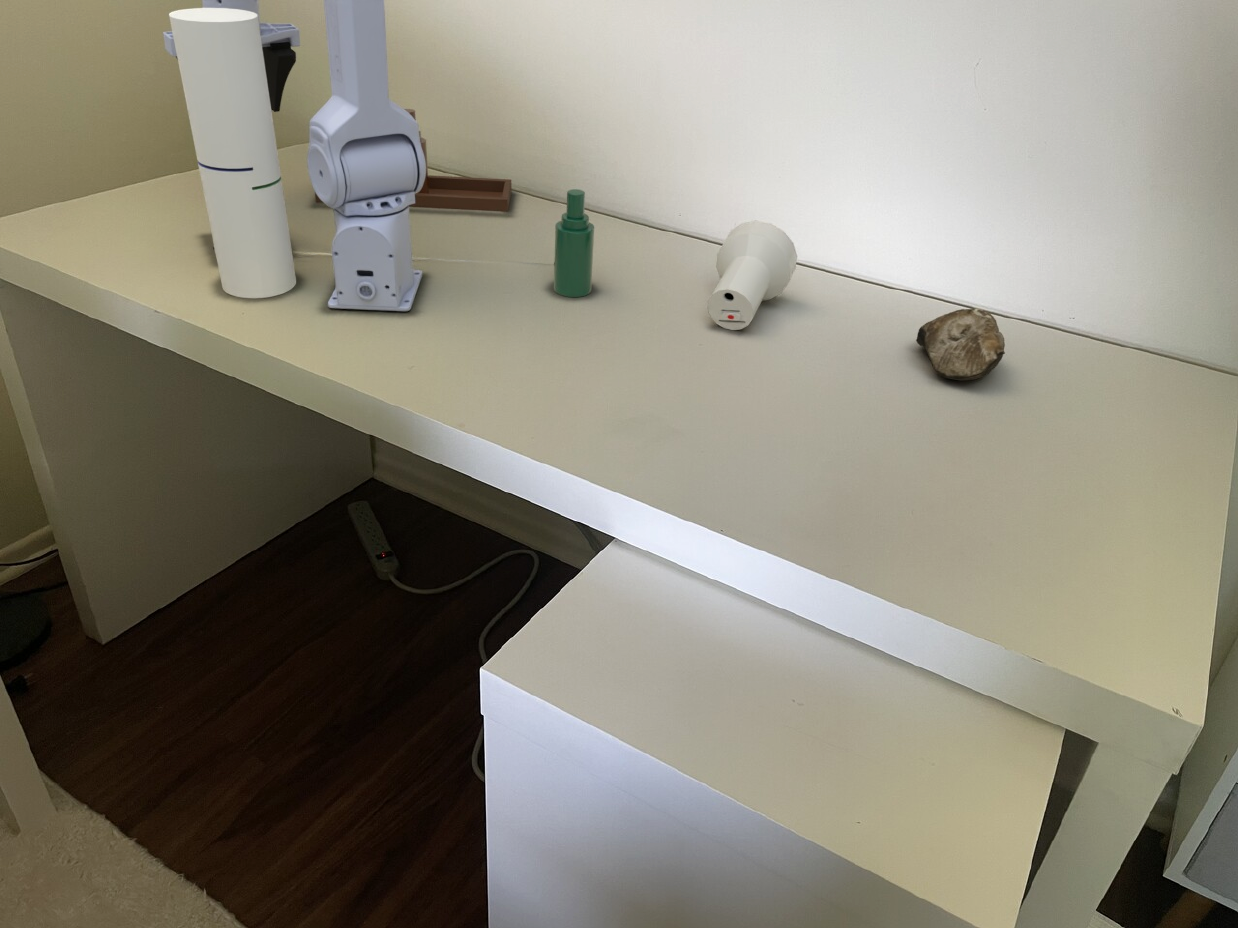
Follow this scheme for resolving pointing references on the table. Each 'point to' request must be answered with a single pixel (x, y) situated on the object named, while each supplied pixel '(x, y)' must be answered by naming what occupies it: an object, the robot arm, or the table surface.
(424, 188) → the brown bottle
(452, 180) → the tray
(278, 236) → the cylindrical container
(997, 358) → the fossilized seashell
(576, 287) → the green bottle
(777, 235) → the spotlight
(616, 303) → the table surface
